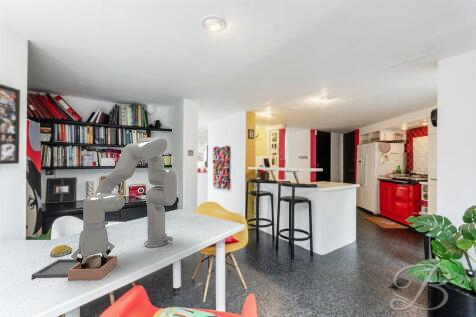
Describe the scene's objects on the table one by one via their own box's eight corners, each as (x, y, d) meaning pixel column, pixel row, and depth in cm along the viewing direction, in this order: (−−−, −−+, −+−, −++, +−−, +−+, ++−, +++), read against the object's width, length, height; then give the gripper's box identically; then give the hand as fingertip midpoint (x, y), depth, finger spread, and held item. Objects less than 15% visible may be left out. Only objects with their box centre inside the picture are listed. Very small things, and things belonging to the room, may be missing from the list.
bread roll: (66, 249, 120) (66, 241, 120) (74, 253, 115) (74, 245, 115) (47, 254, 113) (47, 246, 113) (54, 259, 108) (54, 250, 109)
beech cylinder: (103, 268, 97) (103, 254, 97) (96, 274, 92) (96, 260, 92) (91, 269, 97) (91, 255, 97) (84, 274, 92) (84, 260, 92)
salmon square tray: (117, 265, 101) (117, 255, 101) (100, 281, 88) (100, 269, 88) (88, 266, 100) (88, 256, 100) (67, 281, 88) (67, 270, 88)
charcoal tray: (89, 262, 104) (89, 258, 104) (67, 278, 90) (67, 274, 90) (58, 263, 104) (58, 259, 104) (31, 279, 90) (31, 274, 90)
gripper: (113, 220, 103) (113, 259, 103) (66, 228, 91) (66, 273, 91) (119, 223, 98) (119, 265, 98) (70, 233, 86) (70, 280, 85)
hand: (94, 268), depth 94 cm, fingers open, 6 cm apart
